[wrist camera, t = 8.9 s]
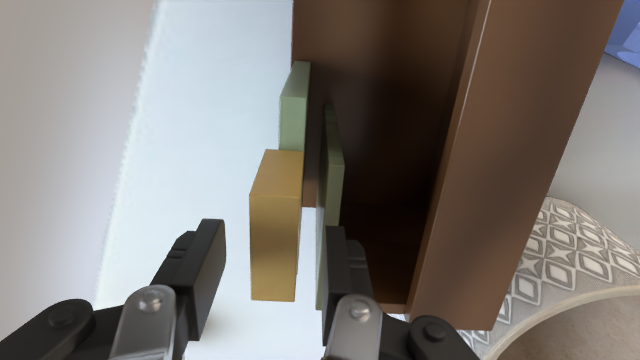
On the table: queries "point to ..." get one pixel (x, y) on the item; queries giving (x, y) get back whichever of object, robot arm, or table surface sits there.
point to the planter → (567, 294)
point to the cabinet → (441, 136)
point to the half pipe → (626, 34)
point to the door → (280, 196)
